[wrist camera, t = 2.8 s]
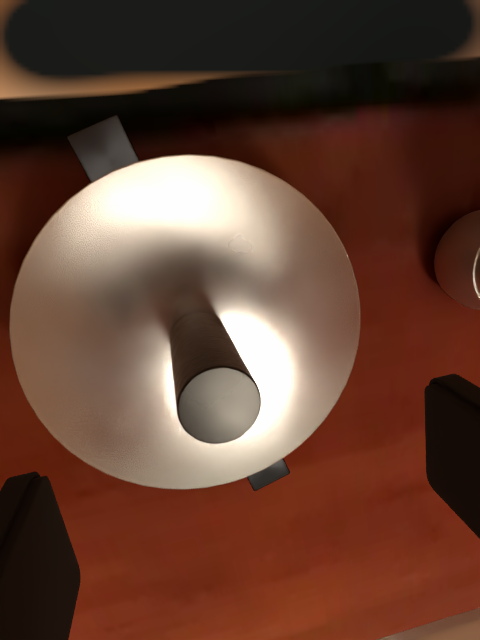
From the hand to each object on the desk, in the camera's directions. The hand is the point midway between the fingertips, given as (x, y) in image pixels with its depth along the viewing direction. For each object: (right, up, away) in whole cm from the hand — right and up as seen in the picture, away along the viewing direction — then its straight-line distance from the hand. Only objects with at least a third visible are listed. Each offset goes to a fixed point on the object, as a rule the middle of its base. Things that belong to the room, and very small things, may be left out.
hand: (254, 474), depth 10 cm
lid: (-2, +3, +11) cm, 11 cm away
